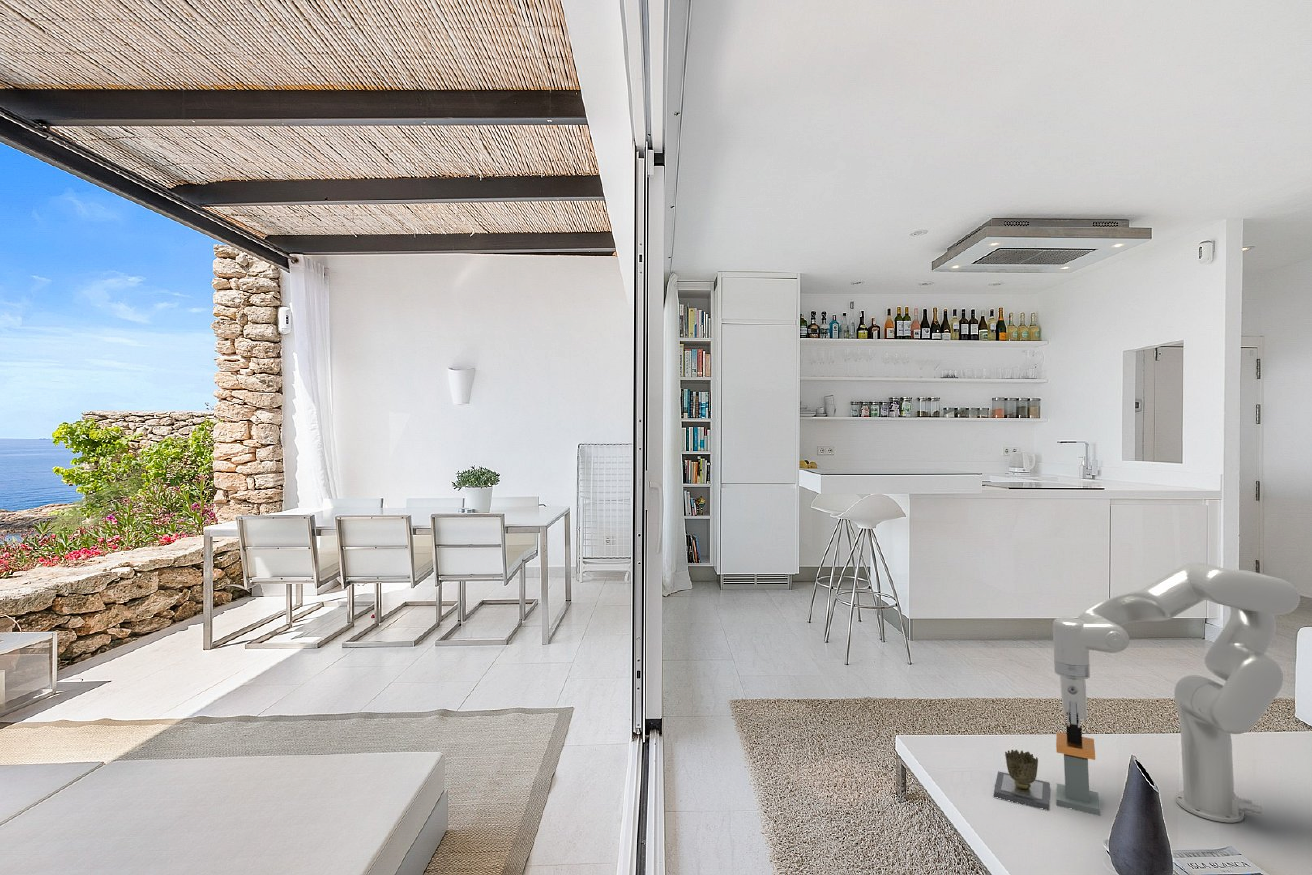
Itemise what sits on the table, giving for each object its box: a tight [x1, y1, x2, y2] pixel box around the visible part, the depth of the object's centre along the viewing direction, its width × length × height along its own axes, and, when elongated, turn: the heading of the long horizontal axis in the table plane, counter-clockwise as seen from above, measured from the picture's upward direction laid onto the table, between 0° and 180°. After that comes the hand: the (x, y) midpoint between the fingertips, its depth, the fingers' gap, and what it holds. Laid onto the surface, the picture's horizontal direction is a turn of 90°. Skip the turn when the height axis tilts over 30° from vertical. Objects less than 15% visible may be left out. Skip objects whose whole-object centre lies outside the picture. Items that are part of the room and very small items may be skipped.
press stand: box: [1055, 754, 1101, 817], centre depth 161 cm, size 9×9×12 cm
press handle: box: [1055, 731, 1096, 761], centre depth 161 cm, size 8×8×12 cm
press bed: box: [993, 771, 1051, 811], centre depth 165 cm, size 12×12×2 cm
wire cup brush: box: [1004, 749, 1039, 790], centre depth 165 cm, size 8×7×8 cm
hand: (1074, 741), depth 161 cm, fingers closed
